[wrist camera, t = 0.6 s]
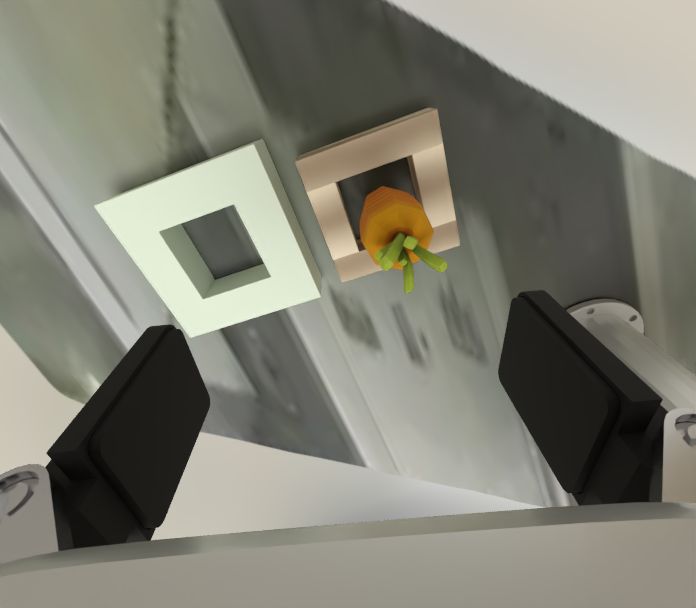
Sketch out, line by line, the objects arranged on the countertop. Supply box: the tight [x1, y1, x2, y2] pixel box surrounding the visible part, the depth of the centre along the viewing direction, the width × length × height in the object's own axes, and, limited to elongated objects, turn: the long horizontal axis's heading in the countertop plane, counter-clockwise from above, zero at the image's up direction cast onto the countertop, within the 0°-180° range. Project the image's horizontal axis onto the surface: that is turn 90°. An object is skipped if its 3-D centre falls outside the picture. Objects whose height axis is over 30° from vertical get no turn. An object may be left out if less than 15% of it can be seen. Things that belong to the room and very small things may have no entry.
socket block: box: [295, 108, 460, 283], centre depth 30 cm, size 12×12×3 cm
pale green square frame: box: [94, 138, 322, 338], centre depth 32 cm, size 14×14×4 cm
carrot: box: [359, 186, 447, 293], centre depth 25 cm, size 5×5×15 cm
